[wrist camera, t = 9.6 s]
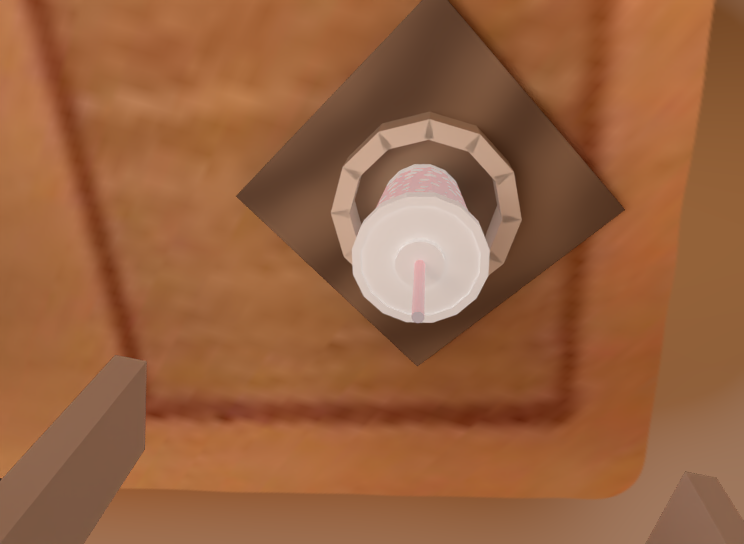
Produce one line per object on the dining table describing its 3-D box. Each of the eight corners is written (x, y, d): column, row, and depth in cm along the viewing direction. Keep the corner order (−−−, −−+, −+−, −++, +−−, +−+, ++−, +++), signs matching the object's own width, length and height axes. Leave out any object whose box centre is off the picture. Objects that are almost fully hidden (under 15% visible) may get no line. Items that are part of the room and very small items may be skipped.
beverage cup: (435, 269, 35) (439, 413, 22) (350, 216, 34) (303, 335, 21) (497, 188, 33) (540, 298, 20) (407, 128, 32) (393, 204, 19)
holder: (243, 189, 36) (236, 196, 34) (435, -13, 30) (435, -14, 29) (417, 354, 39) (417, 366, 38) (617, 201, 34) (625, 209, 32)
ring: (305, 198, 34) (296, 211, 32) (431, 74, 30) (431, 79, 28) (420, 309, 36) (419, 329, 34) (549, 207, 33) (557, 221, 30)
